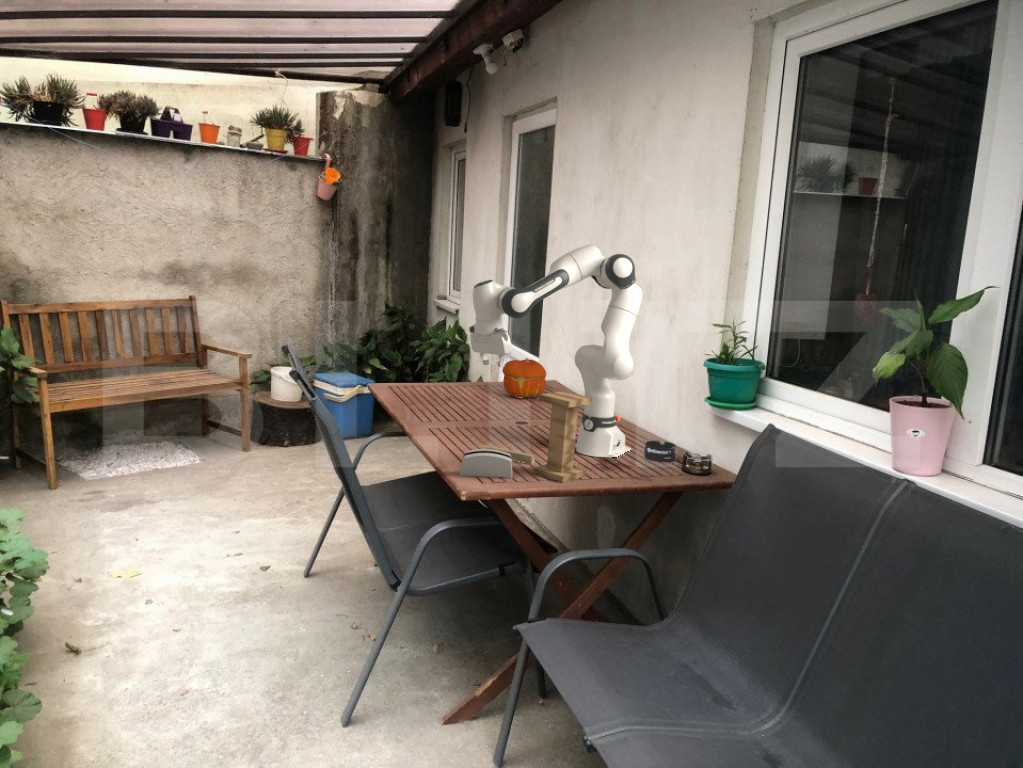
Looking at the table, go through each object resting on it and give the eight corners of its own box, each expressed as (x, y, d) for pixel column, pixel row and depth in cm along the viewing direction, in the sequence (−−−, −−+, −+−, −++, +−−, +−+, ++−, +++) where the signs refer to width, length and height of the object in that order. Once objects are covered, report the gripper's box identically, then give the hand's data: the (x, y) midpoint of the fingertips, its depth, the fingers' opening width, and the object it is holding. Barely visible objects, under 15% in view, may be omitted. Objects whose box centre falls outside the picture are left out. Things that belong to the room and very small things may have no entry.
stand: (556, 467, 243) (562, 391, 239) (585, 476, 235) (592, 397, 231) (533, 473, 234) (539, 394, 230) (562, 482, 227) (569, 401, 222)
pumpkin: (521, 403, 350) (524, 362, 346) (491, 394, 366) (494, 355, 363) (555, 399, 365) (558, 360, 362) (524, 391, 381) (527, 353, 378)
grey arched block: (512, 473, 233) (514, 447, 228) (512, 482, 229) (514, 456, 224) (459, 470, 232) (461, 444, 227) (459, 479, 228) (460, 453, 223)
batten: (485, 454, 255) (486, 445, 254) (534, 464, 247) (534, 455, 246) (482, 455, 253) (482, 446, 252) (530, 465, 244) (531, 456, 244)
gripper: (513, 327, 248) (518, 366, 251) (480, 324, 265) (484, 361, 267) (499, 330, 245) (503, 370, 248) (465, 327, 261) (470, 365, 264)
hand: (493, 365), depth 258 cm, fingers open, 8 cm apart
